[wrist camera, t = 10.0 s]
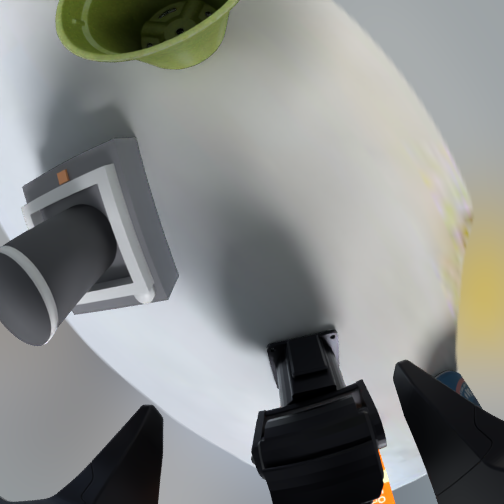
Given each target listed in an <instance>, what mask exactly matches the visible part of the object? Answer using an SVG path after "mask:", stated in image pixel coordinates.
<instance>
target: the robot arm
mask: <svg viewBox="0 0 504 504" xmlns="http://www.w3.org/2000/svg"><path fill="white" fill-rule="evenodd" d="M331 335H333V336H331ZM271 348H274V349H271ZM267 352H268V356H269V360H270V363H271V367H272V371H273V374H274V378H275V381H276V385H277V388H278V389H279V395H280V403H281V407H280V408H276V409H272V410H268V411H266V410H264V411H259V413H258V419H257V422H256V428H255V434H254V439H253V445H252V451H251V452H252V457H251V460H252V463H254V464H255V465H256V468H257V471H258V473H259V474H260V476H261V477H262V478H263V479H265V480H266V482H267V484H268V487H269V490H270V494H271V498H272V502H273V504H372V503H373V501H374V500H376V499H379V498H380V495H381V492H382V490H383V487H384V482H383V479H384V471H383V467H382V463H381V459H380V455H379V451H378V449H381V448H383V447H386V446H387V443H386V437H385V433H384V429H383V426H382V422H381V419H380V417H379V414H378V411H377V409H376V407H375V405H374V403H373V400H372V398H371V396H370V394H369V392H368V390H367V388H366V386H365V384H364V382H363V380H359V381H357V382H356V383H354V384H352V385H349V386H345V383H344V380H343V377H342V374H341V371H340V368H339V345H338V334H337V332H336V331H335V330H330V331H326V332H322V333H318V334H314V335H309V336H305V337H300V338H296V339H291V340H286V341H281V342H276V343H271V344H269V345H268V346H267ZM393 381H394V384H395V387H396V391H397V394H398V397H399V400H400V404H401V407H402V410H403V413H404V416H405V419H406V421H407V424H408V426H409V428H410V431H411V433H412V435H413V438H414V440H415V443H416V445H417V447H418V450H419V452H420V455H421V457H422V460H423V463H424V465H425V468H426V470H427V473H428V476H429V479H430V481H431V484H432V487H433V489H434V493H435V495H436V499H437V502H438V504H504V421H503V420H501V419H499V418H497V417H495V416H493V415H491V414H490V413H488V412H486V411H485V410H483V409H481V408H480V407H478V406H477V405H474V403H472V402H471V401H469V400H467V399H466V398H464V397H463V396H461V395H460V394H458V393H457V392H455V391H454V390H452V389H451V388H449V387H448V386H446V385H445V384H443V383H442V382H440V381H439V380H437V379H436V378H434V377H433V376H431V375H430V374H428V373H426V372H425V371H423V370H422V369H420V368H419V367H417V366H416V365H414V364H413V363H411V362H410V361H408V360H403V361H400V362H398V363H397V364H396V366H395V371H394V376H393ZM162 458H163V417H162V415H161V414H160V413H159V412H158V410H157V409H156V408H155V407H154V406H153V405H142V406H141V407H140V409H138V411H137V412H136V413H135V414H134V415H133V416H132V417H131V418H130V420H129V421H128V422H127V423H126V424H125V425H124V426H123V427H122V429H121V430H120V431H119V432H118V433H117V434H116V435H115V436H114V437H113V438H112V440H111V441H110V442H109V443H108V444H107V445H106V446H105V447H104V448H103V449H102V451H101V452H100V453H99V454H98V455H97V456H96V457H95V458H94V460H92V463H90V464H89V465H88V466H87V467H86V468H85V469H84V470H83V471H82V472H81V473H80V474H79V475H78V476H77V477H76V478H75V479H73V480H72V481H71V482H70V483H69V484H68V485H67V486H65V487H64V488H63V489H62V490H60V491H59V492H58V493H57V494H56V495H54V496H52V497H50V498H47V499H41V500H32V501H19V502H9V501H7V500H5V499H4V498H2V497H1V496H0V504H158V497H159V486H160V476H161V467H162Z"/></svg>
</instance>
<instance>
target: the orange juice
mask: <svg viewBox="0 0 504 504" xmlns="http://www.w3.org/2000/svg"><path fill="white" fill-rule="evenodd" d="M378 451H379V449H378ZM379 455H380V452H379ZM380 459H381V463H382V467H383V471H384V479H383V482H384V487H383V490H382V492H381V495H380V498H379V499H376V500H374V501H373V503H372V504H395V501H394V498H393V494H392V491H391V488H390V484H389V480H388V476H387V473H386V470H385V468H384V465H383V461H382V458H381V455H380Z"/></svg>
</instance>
